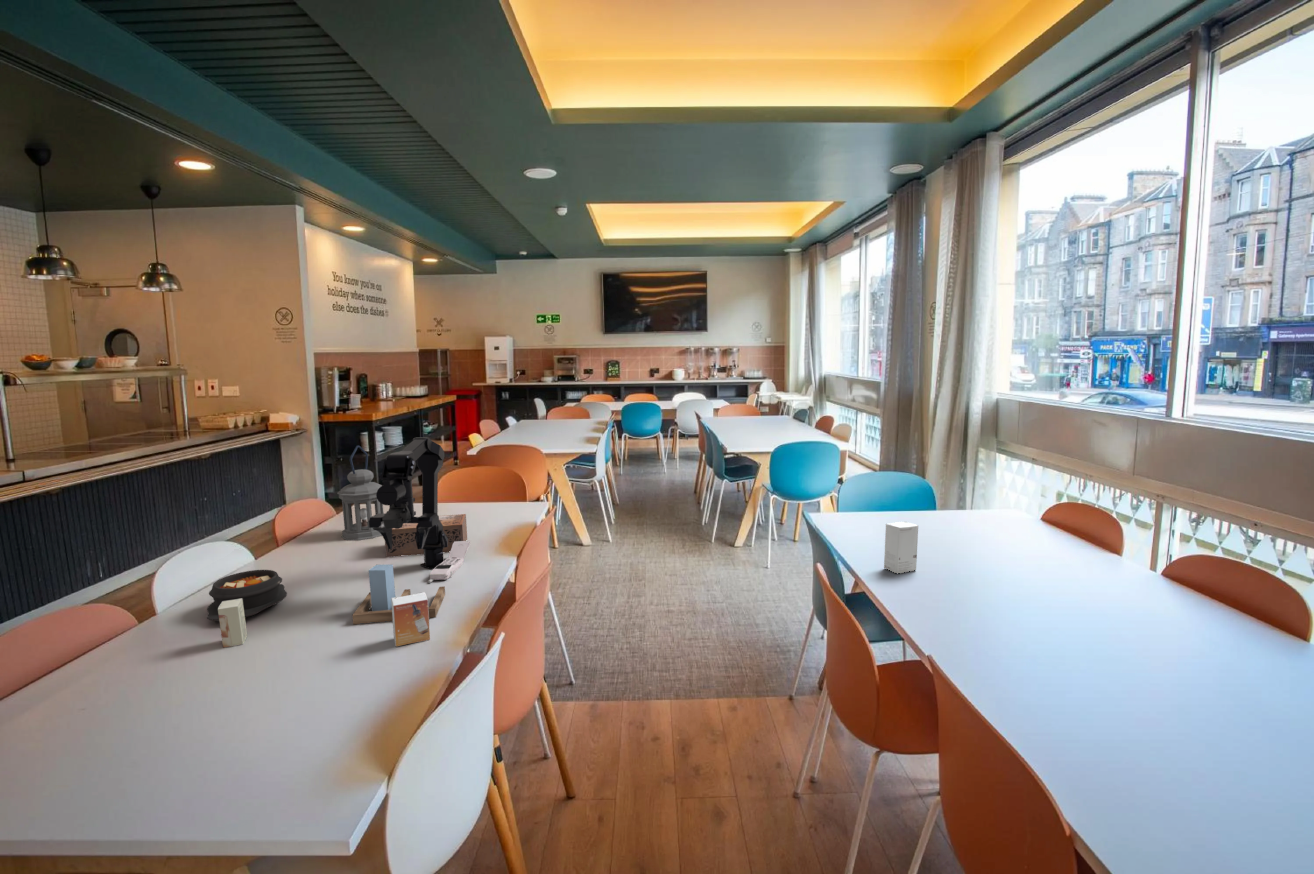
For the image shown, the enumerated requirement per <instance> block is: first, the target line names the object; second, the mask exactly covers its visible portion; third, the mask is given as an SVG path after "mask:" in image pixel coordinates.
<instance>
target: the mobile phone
mask: <svg viewBox="0 0 1314 874" xmlns="http://www.w3.org/2000/svg"><path fill="white" fill-rule="evenodd" d="M470 546H471V540H467V541H456V542H455V541H454V543H453V545H452V548H451V551H450V552H449V554H448V557H446V559H444V561H443V562H442V563H441V564H439V565H438V566H436V567H435V568H433V569H431V571H430V573H429V579H428V580H427V583H428V584H431V583H432V582H434V581H436V580H439V581H440V580H441V581H442V580H448V579H450V578H452V577H453V575H454V574H455V573H456V572H457V571H458V570H459V569H460V568H461V567H462V566H463V565H464V562H465V561H464V559H465V558H466V555H467V553H468V549H469V547H470Z"/></svg>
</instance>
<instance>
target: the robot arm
mask: <svg viewBox="0 0 1314 874" xmlns="http://www.w3.org/2000/svg"><path fill="white" fill-rule="evenodd" d="M445 455H446V454H445V450H444V449H443V447H442V446H441V445H440V444H439V443H436V442H435V441H432V439H431V438H430V437H427V436H426V437H414V438H412V441H411V442H410V443H408V444H407V446H405V447H404V448H403V449H401V450H400V451H396V452H392V453H389V454H388V455H387V456H386V457H385V459H384V461H383V465H382V469H381V470H382V471H381V475H380V481H382V486H381V487H380V488H379V489H378V491H377V493H376V496H377V499H378V501H379V502H380V503H381V504H383V506H388V507H389V509H388V510H386V512H385V513H384V514H376V515H375V514H373V515H372V517H370V518H369V520H368V527H369V528H373V530H377V531H378V532H380V533H381V535H382V536H381V537H382V538H383V540H384V543H385V542H386V544H387V546H388V548H389V549H392V528H395V529H399V528H401V527H402V526H403V524H404V523H418V524H417V526H416V530H417V532H416V534H415V540H416V544H417V548H418V549H424V554H423V560H424V561H423V562H422V563H420V564H419V565H420V566H421V567H424V568H426V569H429V570H433V569H434V568H435V567H436V566H438V565H439V564H441V563H442V562H443V561H445V559H444V553H443V549H444V548H445V547H448V538H447V536H446V534H445V532H444V531H443V525H442V523H441V522H440V520H439V516H440V515H439V514H438V511H439V509H438V505H439V504H438V497H439V495H438V493H439V491H438V483H439V482H438V480H439V479H438V477H439V476H438V475H439V473H440V470H441V468H442V467H443V465H444V460H445ZM416 466H417V468H418V469H419V471H420V473H421V474H422V475H421V476H422V477H421V479H422V480H421V481H422V482H421V483H422V485H421V487H422V491H421V493H422V494H421V495H422V496H421V497H422V499H421V501H422V503H421V505H422V506H421V507H422V511H421V512H422V514H421V515H420V516H416V515H417V511H415V508H414V502H415V501H416V498H415V497H414V494H413V484H412V482H413V481H412V479H413V477H414V473H415V469H416Z"/></svg>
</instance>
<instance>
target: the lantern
mask: <svg viewBox="0 0 1314 874" xmlns="http://www.w3.org/2000/svg"><path fill="white" fill-rule="evenodd" d="M358 448H359V450H361V451H362V452H363V454H364V455H365V463H364V465H365V467H364V469H355V468H354V467H355V466H354V464H353V458H354V456H355V454H356V452H357V450H358ZM349 462H350V468H351V471H350V472H349V473H348V474H347V475H346V477H347V480H348V482H349V484H347V485H345V486H343V487H342V488H341V489H340V490H339V491H337V493H336V494H337V495H338V498H339V499H340V500H341V504H342V505H341V506H342V515H343V527H344V529H343V530H342V534H341V535H340V536H341V538H342V539H344V540H345V541H365V540H373V539H376V538H379V537H383V536H382V535H381V533H380V532H378V531H377V530H373V528H369V527H368V520H369V518H370V517H372V516H373V515H372V513H373V512H372V502H374V515H376V514H385V513H384V512H385V511H384V505H383V504H381V503H380V502H379V501H378V499H377V496H376V493H377V491H378V489H379V488H380V487H381V486H383V484H379V483H377V482H376V481H373V479H374V477H375V476H374V472H373V471H371V470H370V469H368V463H369V455H368V453H367V452H366V451H365V449H363V447H361V446H360V445H356V446H355V448H354V450H353V452H352V453H351V454H350V456H349ZM363 503H365V507H362V508H361V504H363ZM352 504H353V505H354V517H355V523H354V520H353V510H352V509H353V508H352Z"/></svg>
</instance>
